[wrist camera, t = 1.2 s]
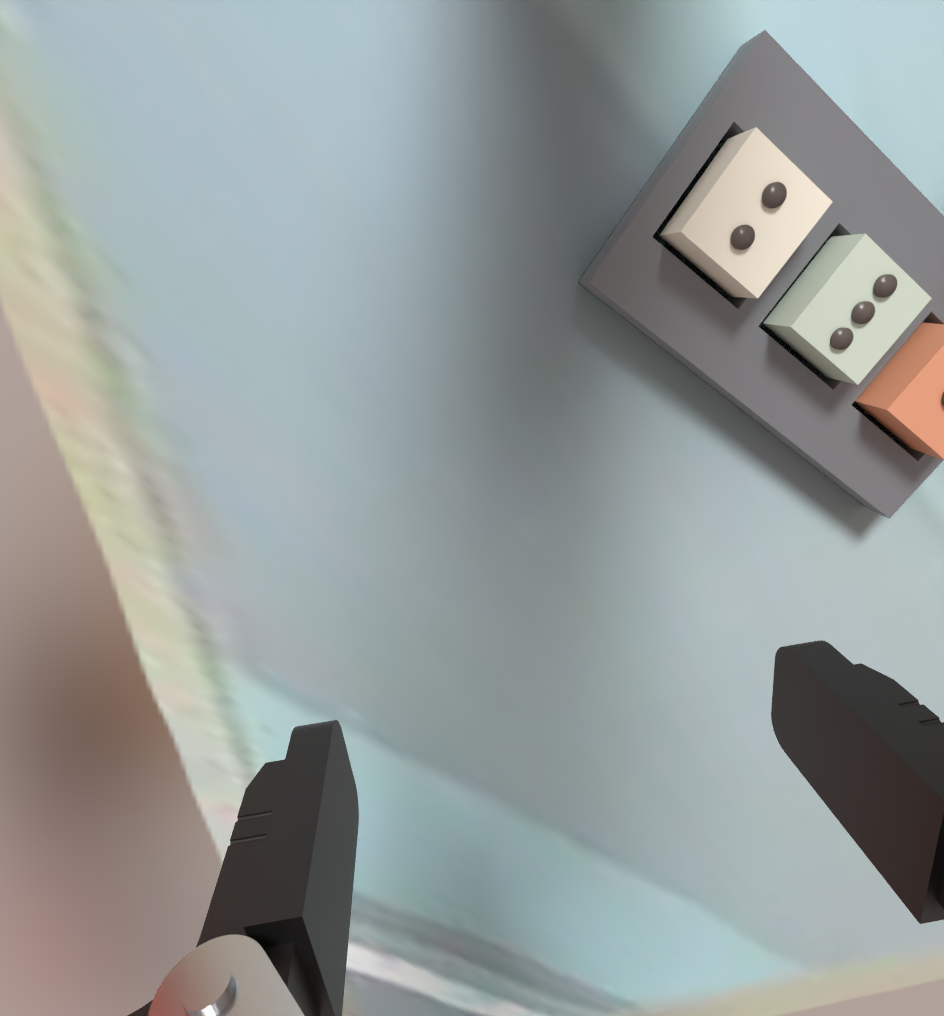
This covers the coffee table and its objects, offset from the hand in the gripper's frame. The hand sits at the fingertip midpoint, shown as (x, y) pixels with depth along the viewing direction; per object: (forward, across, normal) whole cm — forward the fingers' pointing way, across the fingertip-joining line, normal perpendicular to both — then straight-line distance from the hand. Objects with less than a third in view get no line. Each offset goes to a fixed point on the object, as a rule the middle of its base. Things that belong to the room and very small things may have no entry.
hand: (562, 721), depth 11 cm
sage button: (+21, -19, -4) cm, 29 cm away
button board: (+23, -19, -4) cm, 30 cm away
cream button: (+22, -14, -8) cm, 27 cm away
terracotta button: (+22, -24, +1) cm, 32 cm away
